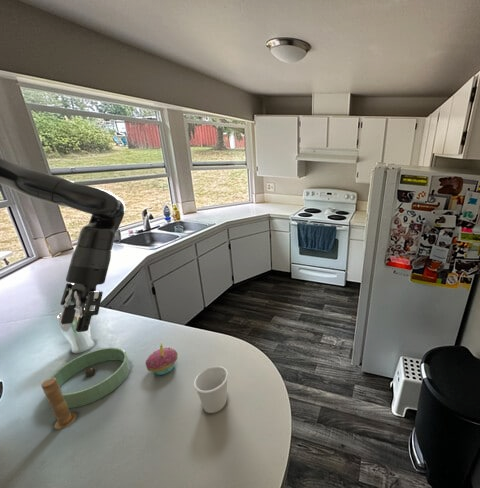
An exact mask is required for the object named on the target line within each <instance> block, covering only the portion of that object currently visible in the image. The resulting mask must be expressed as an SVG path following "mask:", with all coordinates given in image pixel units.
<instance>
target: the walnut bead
mask: <svg viewBox="0 0 480 488" xmlns="http://www.w3.org/2000/svg"><path fill="white" fill-rule="evenodd" d="M96 372H97V368H95V367H89V368H88V369H86V370H85V373H84V374H85V376H86V377H92V376H94V375H95V374H96Z"/></svg>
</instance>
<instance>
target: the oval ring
mask: <svg viewBox="0 0 480 488" xmlns="http://www.w3.org/2000/svg"><path fill="white" fill-rule="evenodd" d="M107 361H122V363H121V365H120V366H119V367H118V368H117V369H116V371H115V372H114V373H112V374H111V375H109V376H108V377H106V378H105V379H103V380H102V381H100V382H98V383H96V384H94V385H91V386H90V387H87V388H85V389H82V390H78V391H73V392H67V393H64V392H63V393H62V395H63V397H64V399H65V402H66V404H67V406H68V408H69V409H73V408H79V407H82V406H85V405H88V404H92V403H94V402H95V401H98V400H100V399H102V398H104V397H105V396H107V395H109V394H110V393H112V392H113V391H114V390H116V389H117V388H119V386H120V385H121V384H123V382H124V381H125V380H126V379H127V377H128V375H129V374H130V370H131V365H130V361H129V359H128V355H127V351H125V350H124V349H122V348H119V347H103V348H99V349H94V350H91V351H89V352H86V353H84V354H81V355H79V356H76V357H75V358H74V359H71V360H70V361H68V362H67V363H65V364H64V365H62V366H61V367H59V368H58V369H57V370H56V371H55V373H53V375H51V377H49V379H51V378H55V379H56V381H57V383H58V385H59V388H60V389H61V388H62V386H63V385H64V383H65V382H67V381H68V380H69V379H70V378H71V377H73V376H74V375H76V374H78V373H79V372H80V371H82V370H84V369H87V368H88V367H91V366H93V365H96V364H99V363H102V362H107Z"/></svg>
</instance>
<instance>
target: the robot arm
mask: <svg viewBox="0 0 480 488" xmlns="http://www.w3.org/2000/svg"><path fill="white" fill-rule="evenodd" d="M0 185H1V186H4V187H6V188H9V189H11V190H13V191H15V192H18V194H19V193H20V194H22V195H24V196H26V197H29V198H32V199H36V200H39V201H42V202H45V203H49V204H53V205H56V206H60V207H64V208H71V209H73V210H77V211H80V212H83V213H86V214H89V215H91V216H90V219H89V221H88V224H86V225H84V226H83V227H81V229H80V232H79V235H78V238H77V241H76V246H75V247H74V250H73V253H72V255H71V258H70V262H69V266H68V269H67V273H66V276H65V277H66V278H65V281H66V282H67V283H66V284H65V287H64V291H63V294H62V298H61V300H60V306H62V309H63V311H64V312H63V311H62V312H63V315H62V319H61V323H62V324H70V323H72V322H73V320H74V316H75V312H76V309H74V308H77V309H79V314H80V317H79V319H78V323H77V327H76V331H77V332H84V331H87V330H88V328H89V324H90V325H91V320H92V317H93V316H98V315H99V312H100V307H101V303H102V298H103V294H104V293H103V291H102V290H97V287H98V286H99V285H100V286H101V285H103V284H105V282H106V278H107V275H108V271H109V267H110V263H111V256H112V250H113V245H114V242H115V237H116V233H117V232H118V230H119V228H120V225H121V223H122V222H123V219H124V216H125V211H126V206H125V203H124V201H123V200H122V199H121V198H120V197H119V196H116V195H115V194H113V193H112V192H110V191H108V190H106V189H105V190H104V189H101V188H98V187H94V186H91V185H86V184H82V183H77V182H75V181H73V180H70V179H67V178H64V177H60V176H57V175H54V174H51V173H48V172H45V171H42V170H38V169H34V168H31V167H28V166H25V165H22V164H18V163H15V162H12V161H10V160H7V159H4V158H1V157H0ZM84 309H85V310H84Z"/></svg>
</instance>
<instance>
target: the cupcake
mask: <svg viewBox="0 0 480 488" xmlns="http://www.w3.org/2000/svg"><path fill="white" fill-rule="evenodd" d="M178 357H179V354H178V352H177V351H176V349H174V348H172V347H163V344H162V343H160V344H159V349H156V350H155V351H152V353H151V354H150V355H149V356H148V357H147V359H146V360H145V367H146V370H147V371H148V372H154V373H155V374H156V375H159V376H161V375H166V374H168V373H170V372H171V371H172V370H173V369H174V367H175V363H176V362H177V360H178Z"/></svg>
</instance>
